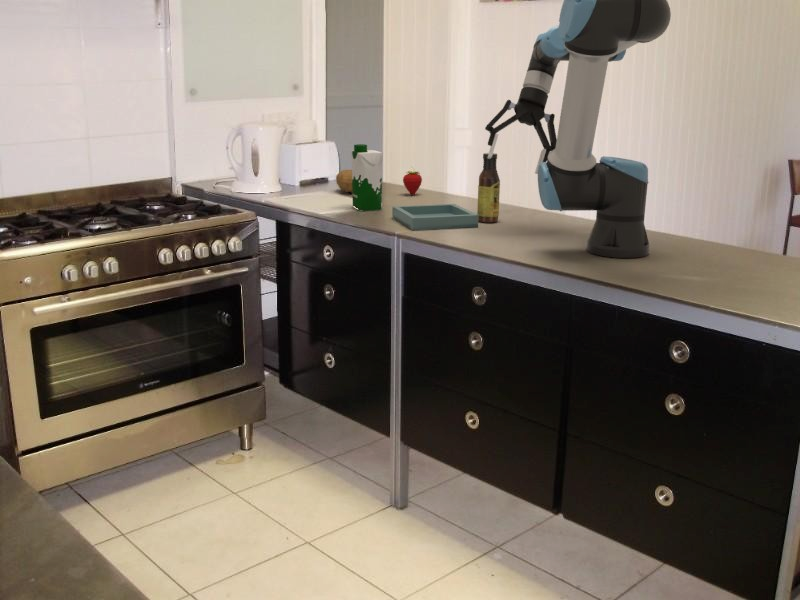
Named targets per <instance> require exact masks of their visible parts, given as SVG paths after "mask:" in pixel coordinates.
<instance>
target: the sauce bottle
mask: <svg viewBox="0 0 800 600" xmlns="http://www.w3.org/2000/svg"><path fill="white" fill-rule="evenodd" d="M488 155H489V152H485V153H483V154H482V159H483V164H482V165H483V166H482V168H483V169H482V171H481V172H480V173H479V176H478V185H477V188H478V189H477V211H476V214H477V215H478V223H479V222H480V223H488V224H489V223H490V224H491V223H496V222H498V221H499V213H500V212H499V211H500V192H501V190H500V188H501V180H500V177H499V173H498V171H497V167H498V166H497V159H498V154H497V153H495V152H493V155H492V158H491V159H488Z"/></svg>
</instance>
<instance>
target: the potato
mask: <svg viewBox="0 0 800 600" xmlns="http://www.w3.org/2000/svg"><path fill="white" fill-rule="evenodd" d="M336 184H337V186H338V188H339V189H341V190H343V191H344V192H346V191H347V193H348V192H352V169H343V170H340V171H339V172H338V173H337V174H336Z"/></svg>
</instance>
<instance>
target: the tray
mask: <svg viewBox="0 0 800 600" xmlns="http://www.w3.org/2000/svg"><path fill="white" fill-rule="evenodd" d="M391 212H392V216H391V217H392V219H393V220H395V221H396V222H398V223H400V225H403V226H404V227H405V228H407V227H408V229H409V230H411V231H412V232H413V231H415V230H416V231H428V230H429V231H431V230H432V231H433V230H434V229H435V230H450V229H451V230H452V229H471V228H472V229H473V228H479V221H478V215H477V213H475V212H473V211H470V210H468V209H466V208H464V207H462V206H460V205H457V204H456V203H443V204H442V203H441V204H419V205H418V204H416V205H395V206H392V211H391Z"/></svg>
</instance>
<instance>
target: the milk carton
mask: <svg viewBox="0 0 800 600" xmlns="http://www.w3.org/2000/svg"><path fill="white" fill-rule="evenodd" d="M350 154H351V167H352V168H351V170H352V193H351V194H352V196H351V197H352V207H353V206H355V207H356V208H358V209H359V210H371V211H381V210H382V200H383V197H382V196H383V156H384V155H383V154H384V153H383V152H381V151H378V150H374V149H368V145H367V144H365V143H364V144H363V143H362V144H361V143H360V144H359V143H358V144H353V150H351V151H350ZM359 210H358V211H359Z"/></svg>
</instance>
